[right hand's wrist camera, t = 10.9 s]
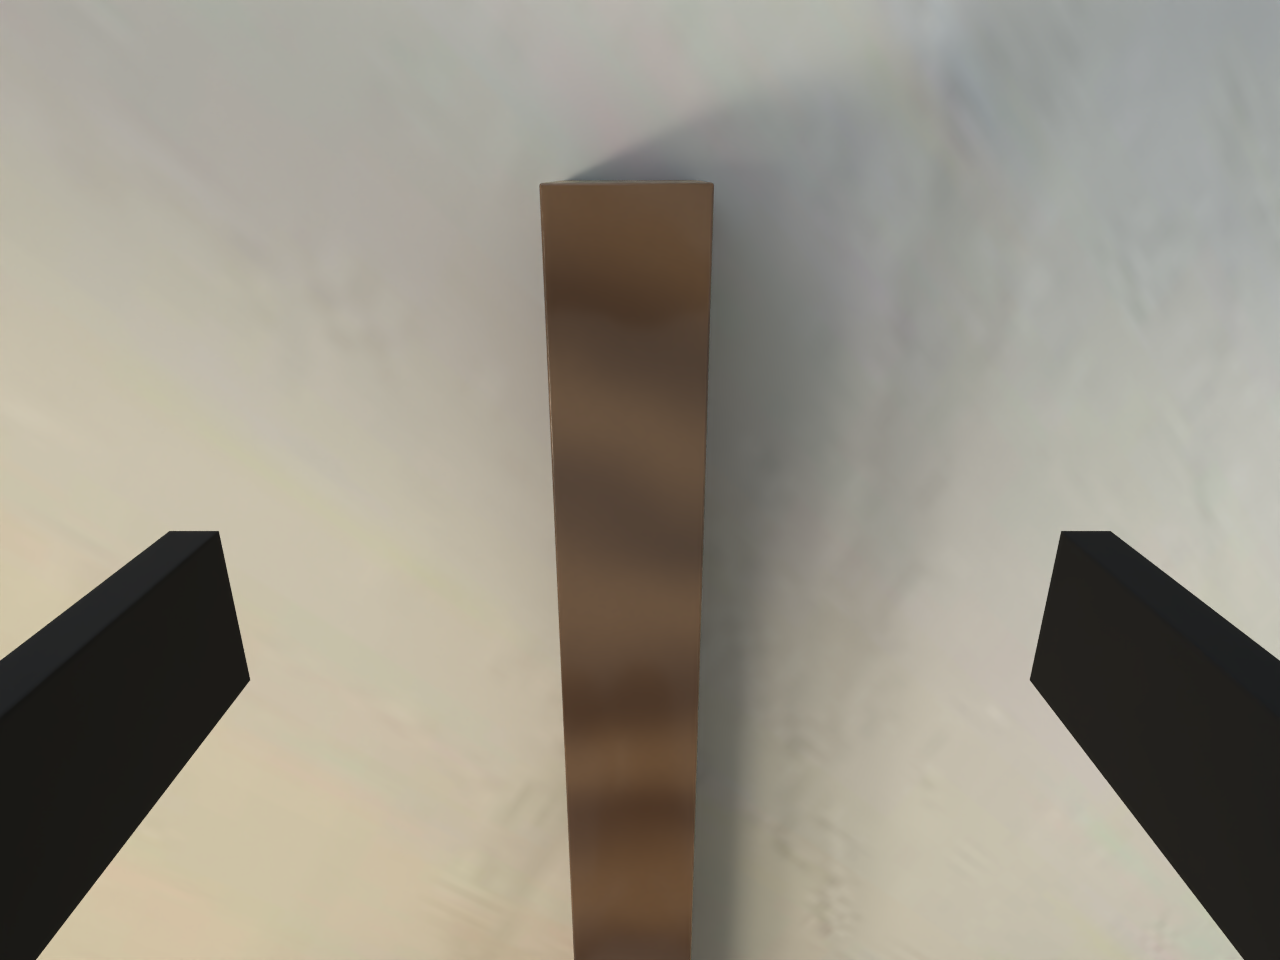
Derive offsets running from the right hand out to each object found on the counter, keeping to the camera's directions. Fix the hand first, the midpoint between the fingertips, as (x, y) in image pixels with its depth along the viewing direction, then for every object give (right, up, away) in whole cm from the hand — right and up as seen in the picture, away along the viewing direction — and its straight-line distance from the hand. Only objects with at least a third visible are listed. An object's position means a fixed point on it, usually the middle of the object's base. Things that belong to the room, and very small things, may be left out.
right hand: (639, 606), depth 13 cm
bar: (0, -15, +28) cm, 32 cm away
